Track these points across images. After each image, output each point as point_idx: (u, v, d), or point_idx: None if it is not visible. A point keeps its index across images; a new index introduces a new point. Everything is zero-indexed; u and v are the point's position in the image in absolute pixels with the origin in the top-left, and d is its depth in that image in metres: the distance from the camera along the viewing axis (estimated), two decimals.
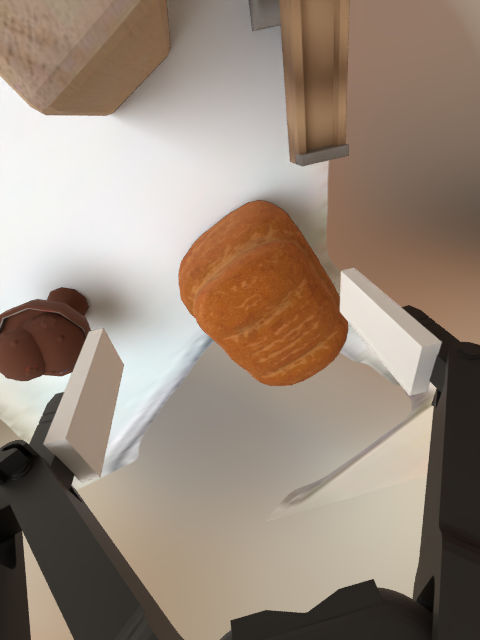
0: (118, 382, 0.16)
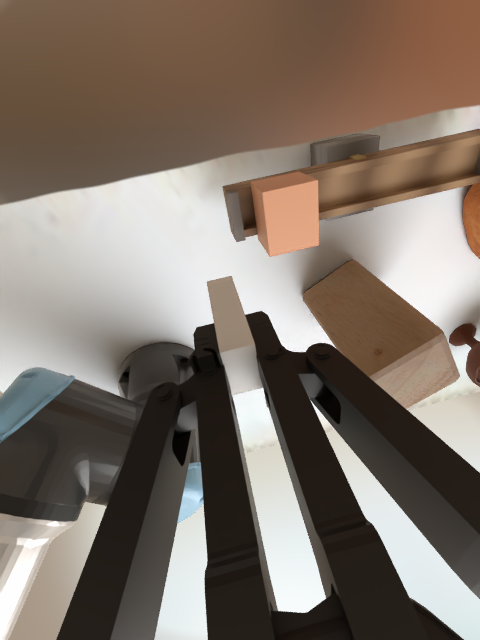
0: None
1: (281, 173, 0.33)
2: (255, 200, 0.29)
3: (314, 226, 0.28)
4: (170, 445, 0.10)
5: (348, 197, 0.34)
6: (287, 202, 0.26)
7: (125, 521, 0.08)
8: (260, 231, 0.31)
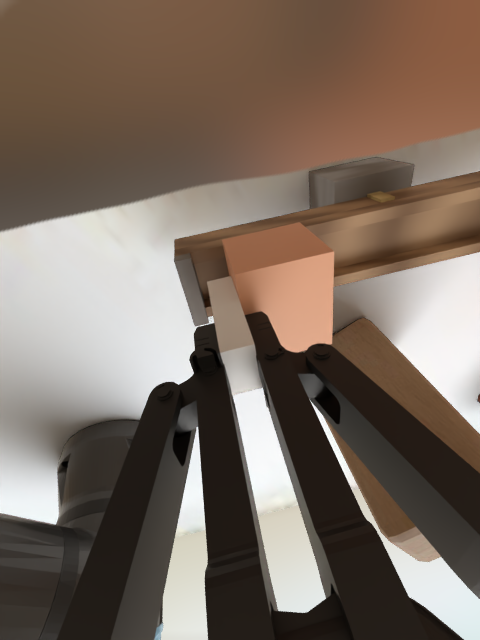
0: None
1: (264, 220, 0.22)
2: (229, 270, 0.18)
3: (325, 319, 0.17)
4: (170, 445, 0.10)
5: (365, 254, 0.23)
6: (280, 287, 0.15)
7: (126, 521, 0.08)
8: None
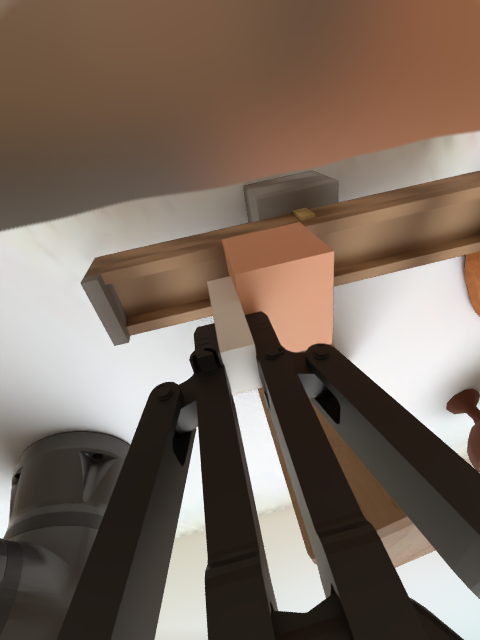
0: None
1: (187, 237, 0.21)
2: (229, 270, 0.18)
3: (325, 319, 0.17)
4: (170, 445, 0.10)
5: None
6: (280, 287, 0.15)
7: (126, 521, 0.08)
8: None
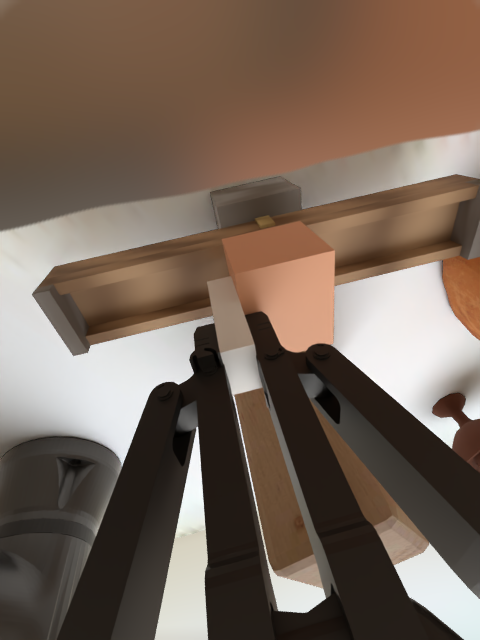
0: None
1: (147, 246, 0.21)
2: (229, 269, 0.18)
3: (325, 319, 0.17)
4: (170, 445, 0.10)
5: None
6: (280, 287, 0.15)
7: (125, 520, 0.08)
8: None
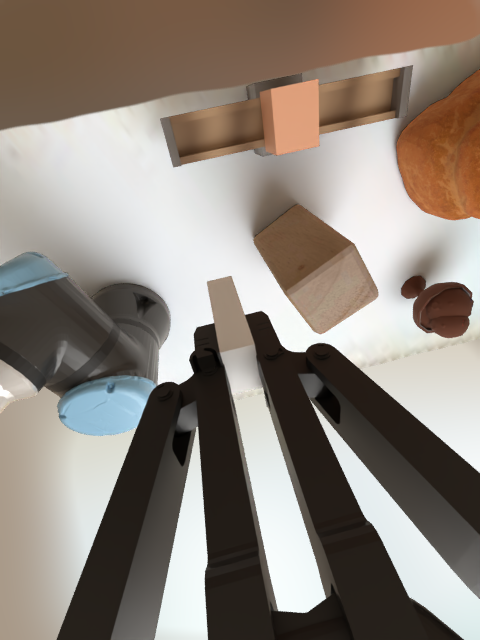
0: None
1: None
2: (264, 107, 0.34)
3: (315, 126, 0.33)
4: (170, 445, 0.10)
5: None
6: (292, 100, 0.31)
7: (126, 521, 0.08)
8: (268, 138, 0.35)
